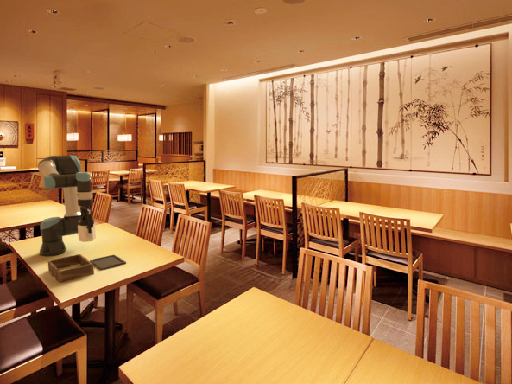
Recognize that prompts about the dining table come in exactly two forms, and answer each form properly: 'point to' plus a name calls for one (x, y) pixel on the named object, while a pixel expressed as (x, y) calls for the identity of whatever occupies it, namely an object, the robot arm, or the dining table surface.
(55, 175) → the robot arm
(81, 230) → the jar
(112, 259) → the tray
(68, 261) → the crate
